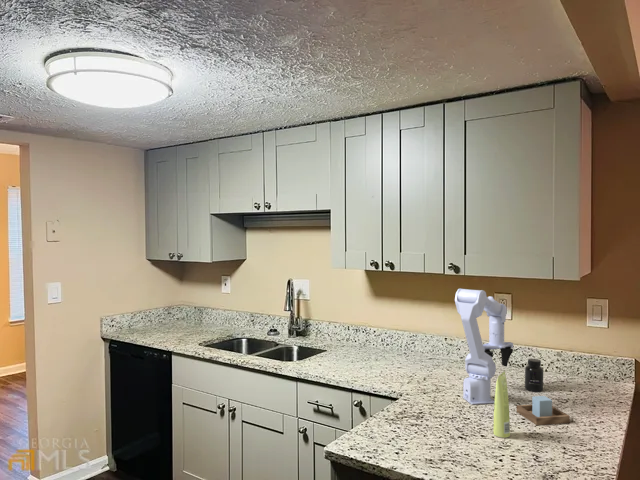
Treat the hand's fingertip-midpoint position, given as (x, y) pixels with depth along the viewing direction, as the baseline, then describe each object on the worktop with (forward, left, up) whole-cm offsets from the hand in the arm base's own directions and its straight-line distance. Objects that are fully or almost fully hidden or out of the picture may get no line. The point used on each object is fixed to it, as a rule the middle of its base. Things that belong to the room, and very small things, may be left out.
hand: (496, 366), depth 196 cm
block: (+1, -29, -9) cm, 30 cm away
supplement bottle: (+15, -2, -10) cm, 18 cm away
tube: (-20, -40, -10) cm, 46 cm away
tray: (+1, -29, -9) cm, 30 cm away
